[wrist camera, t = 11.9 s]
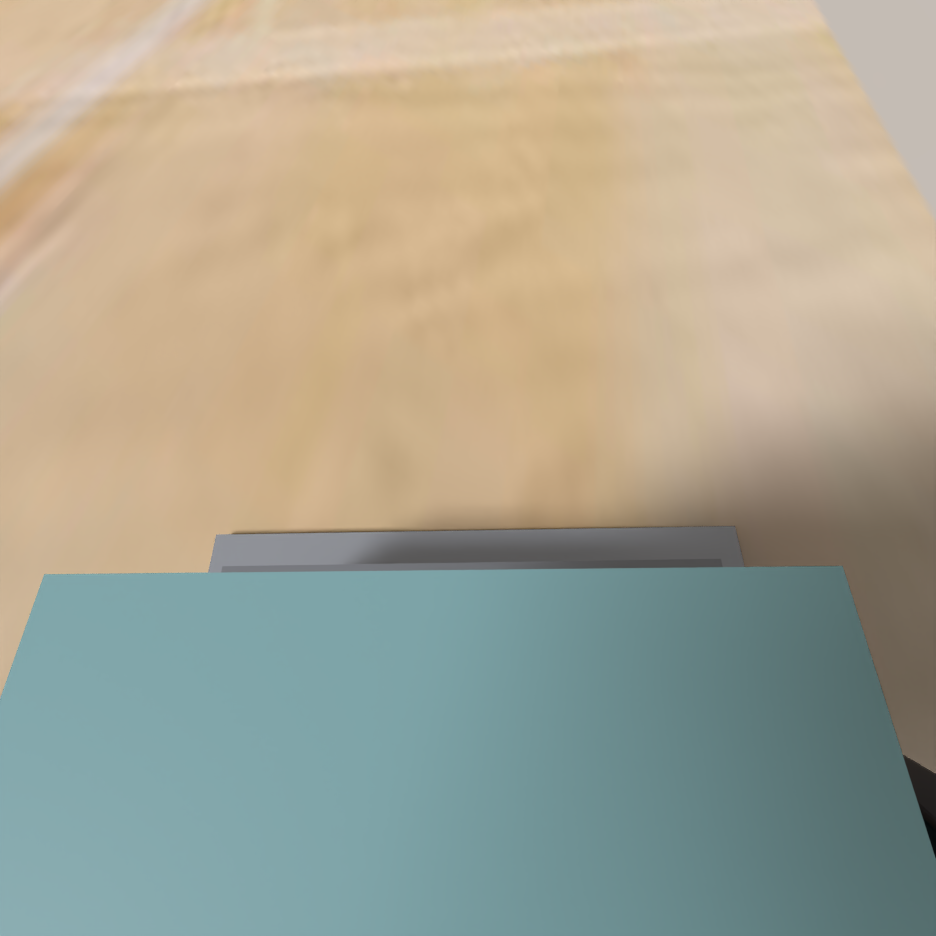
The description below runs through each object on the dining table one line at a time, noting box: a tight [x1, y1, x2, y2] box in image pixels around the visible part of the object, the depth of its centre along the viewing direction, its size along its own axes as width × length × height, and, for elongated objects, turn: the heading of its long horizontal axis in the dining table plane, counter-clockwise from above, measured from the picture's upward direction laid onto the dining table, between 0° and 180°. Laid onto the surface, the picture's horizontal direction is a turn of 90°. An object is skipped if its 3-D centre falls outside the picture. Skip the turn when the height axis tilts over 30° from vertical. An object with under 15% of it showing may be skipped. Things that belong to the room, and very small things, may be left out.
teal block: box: [0, 566, 936, 936], centre depth 8 cm, size 5×5×12 cm
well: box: [208, 526, 745, 573], centre depth 11 cm, size 15×15×4 cm
